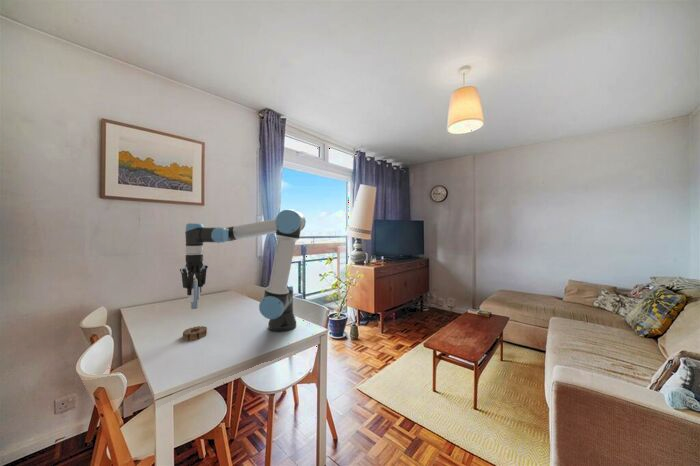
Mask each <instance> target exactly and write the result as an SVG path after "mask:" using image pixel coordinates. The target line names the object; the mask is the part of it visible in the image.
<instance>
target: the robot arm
mask: <svg viewBox="0 0 700 466" xmlns="http://www.w3.org/2000/svg"><path fill="white" fill-rule="evenodd" d="M306 222H307V221H306V217H305V215H303V213H302V212H300V211H298V210H295V209H290V208H288V209H283V210H282V211H279V213H278V214H277V215H276V217H275V218H273V219H267V220H261V221H257V222H251V223H246V224H241V225H234V226H227V227H204V224H203V223H187V224H186V225H185V232H184V233H185V265H184V267H183V268H180V269H179V272H180V273H181V281H182V288H183V289H186V294H187V296H188V302H190V303H191V302H194V288H192V285H193V278H197V280H198V301H201V294H202V287H204V285H205V284H206V278H207V270H208V268H209V266H208V265H205V264H204V263H203V261H204V254H203V253H204V243H217V244H218V243H226V242H233V241H236V240H243V239H248V238H252V237H253V238H254V237H260V236H266V235H270V234H271V235H272V234H275V236H276V237H277V243H276V247H275V252H274V258H273V262H272V263H273V264H272V270H271V274H270V279H269V285H268V286H267V287H265V288H264V294H263V298H262V299H261V300H260V302H259V305H258V310H259V313H260V314H261V315H262V316H263V317H264V318H266V319H267V320H269V321H268V325H267V326H268V330H269V331H271V332H276V333H278V332H280V333H281V332H283V333H284V332H288V331H290V330H293V329H295V328H296V327H297V319H296V317H295V314H294V288H293V287H294V286H293V285H291V284H288V282H289V276H290V272H291V268H292V267H291V266H292V261H293V257H294V251H295V247H296V246H295V245H296V242H297V241H298V240H300V237H301V236H300V235H301V231H302V230H304V228H305V226H306ZM194 276H195V277H194Z"/></svg>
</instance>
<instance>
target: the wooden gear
mask: <svg viewBox="0 0 700 466" xmlns="http://www.w3.org/2000/svg"><path fill="white" fill-rule="evenodd" d="M207 334H208V327H206V326H203V325H202V326H201V325H199V326H193V327H189V328H187V329H185V330H183V332H182V340H184V341H195V340H201V339H202V338H205V337H206V336H207Z"/></svg>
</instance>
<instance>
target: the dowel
mask: <svg viewBox="0 0 700 466" xmlns="http://www.w3.org/2000/svg"><path fill="white" fill-rule="evenodd" d="M192 288H194V302H190V308H191V310H195V309H198V302H199V300H198V280H197V278H196V277H194V278H193V285H192Z"/></svg>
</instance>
